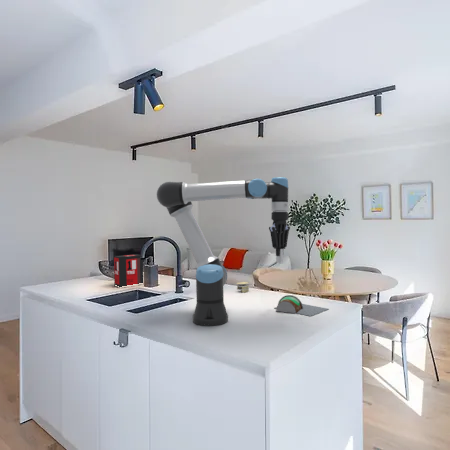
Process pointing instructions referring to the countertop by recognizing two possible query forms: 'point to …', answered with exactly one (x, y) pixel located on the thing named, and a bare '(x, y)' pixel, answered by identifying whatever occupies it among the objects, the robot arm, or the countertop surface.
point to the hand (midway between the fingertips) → (279, 263)
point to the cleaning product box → (128, 270)
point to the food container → (289, 304)
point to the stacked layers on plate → (243, 287)
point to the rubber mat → (310, 310)
